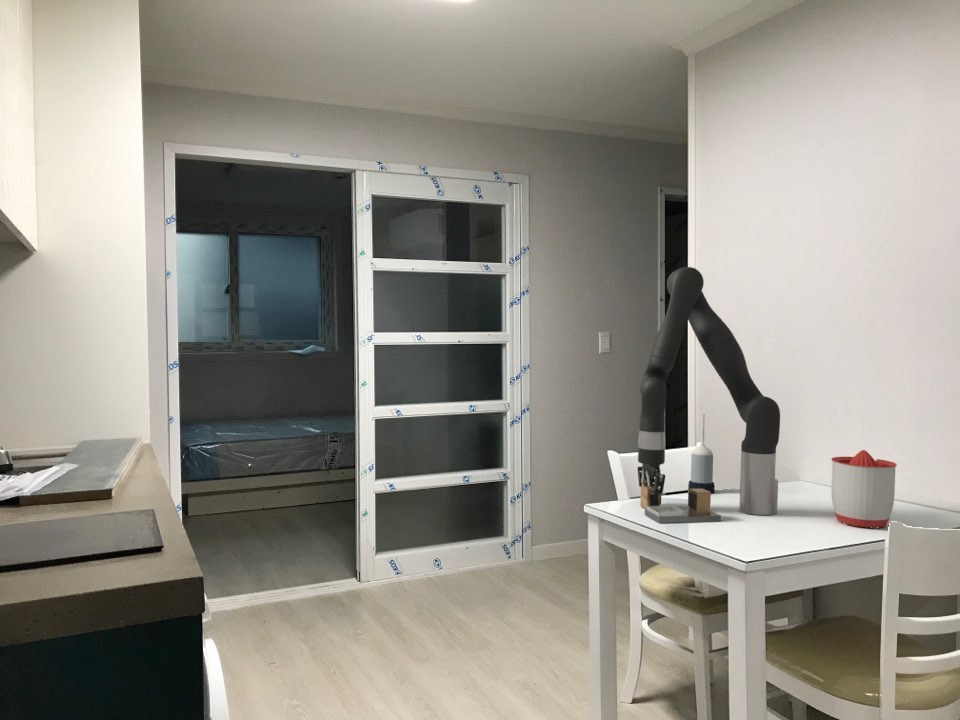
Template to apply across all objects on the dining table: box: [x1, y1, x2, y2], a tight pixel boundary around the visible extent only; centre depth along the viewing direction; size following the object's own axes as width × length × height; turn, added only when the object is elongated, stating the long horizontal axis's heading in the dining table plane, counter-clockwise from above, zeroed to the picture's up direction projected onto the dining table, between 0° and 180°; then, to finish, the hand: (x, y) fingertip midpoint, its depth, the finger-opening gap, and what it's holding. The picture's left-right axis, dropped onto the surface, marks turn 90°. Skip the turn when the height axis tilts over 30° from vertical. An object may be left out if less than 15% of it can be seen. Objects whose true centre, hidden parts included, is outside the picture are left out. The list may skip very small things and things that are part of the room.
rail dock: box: [644, 489, 722, 524], centre depth 197 cm, size 18×9×8 cm, turn 101°
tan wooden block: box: [640, 485, 662, 510], centre depth 208 cm, size 4×4×6 cm
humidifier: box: [687, 413, 715, 495], centre depth 233 cm, size 8×8×25 cm
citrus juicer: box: [830, 449, 897, 529], centre depth 196 cm, size 16×17×20 cm
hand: (650, 505), depth 208 cm, fingers closed on tan wooden block, 4 cm apart
